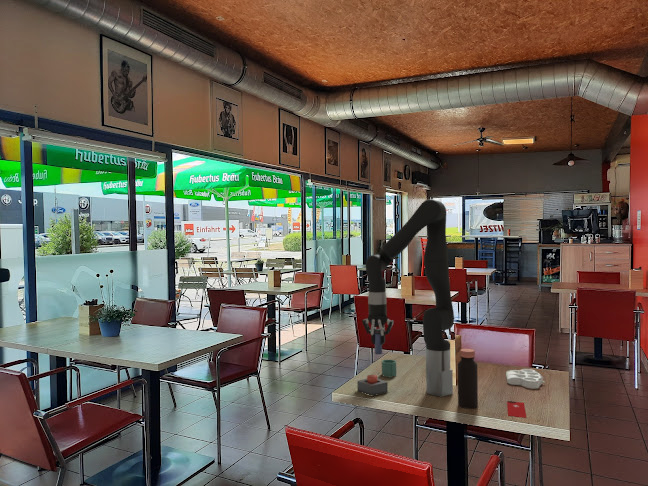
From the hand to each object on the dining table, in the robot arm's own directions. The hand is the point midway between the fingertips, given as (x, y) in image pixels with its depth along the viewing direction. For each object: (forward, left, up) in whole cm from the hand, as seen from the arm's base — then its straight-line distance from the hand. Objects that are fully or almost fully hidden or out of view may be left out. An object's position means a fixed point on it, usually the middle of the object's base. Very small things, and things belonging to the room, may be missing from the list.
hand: (378, 343), depth 198 cm
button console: (-7, +9, -16) cm, 20 cm away
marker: (0, 0, -4) cm, 4 cm away
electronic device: (-51, -20, -17) cm, 57 cm away
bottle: (-39, -9, -17) cm, 43 cm away
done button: (-7, +9, -13) cm, 18 cm away
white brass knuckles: (-34, -51, -17) cm, 63 cm away
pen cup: (+6, -11, -16) cm, 21 cm away
